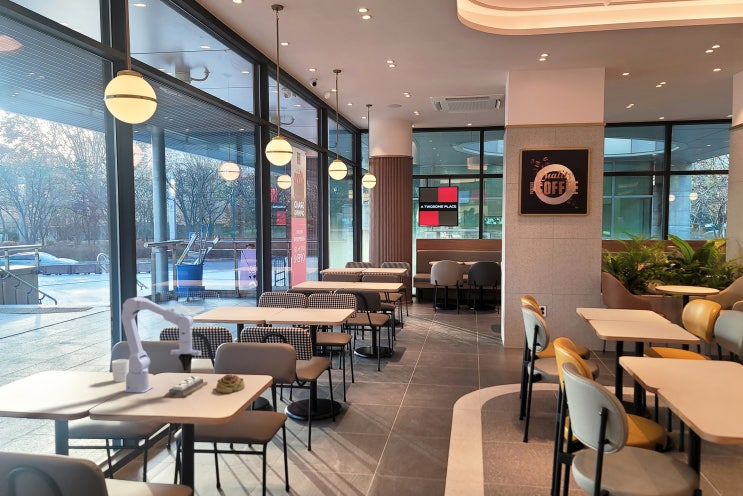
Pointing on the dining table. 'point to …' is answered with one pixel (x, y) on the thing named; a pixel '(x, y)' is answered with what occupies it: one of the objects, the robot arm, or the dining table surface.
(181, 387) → the tile one
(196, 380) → the tile three
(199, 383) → the board
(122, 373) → the white cup
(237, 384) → the pastry
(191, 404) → the dining table surface
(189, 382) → the tile two
